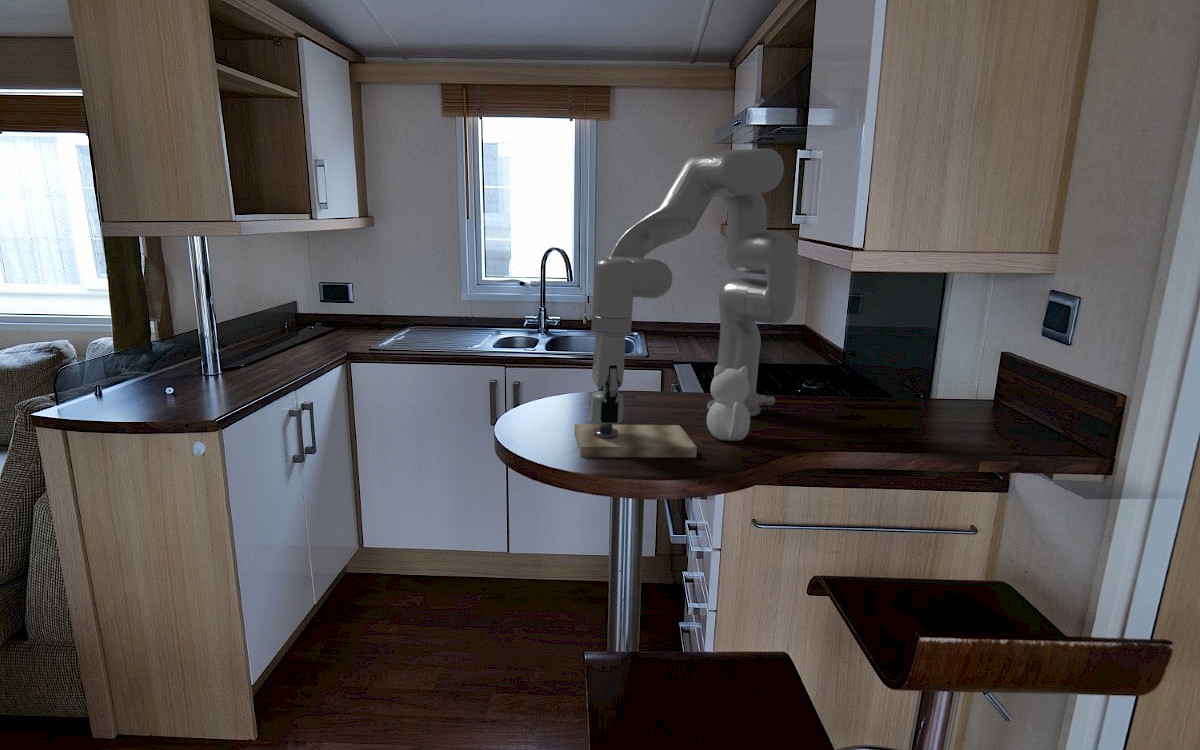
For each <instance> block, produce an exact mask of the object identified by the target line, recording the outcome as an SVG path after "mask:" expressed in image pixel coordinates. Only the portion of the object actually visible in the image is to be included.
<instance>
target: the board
mask: <svg viewBox="0 0 1200 750" xmlns="http://www.w3.org/2000/svg"><path fill="white" fill-rule="evenodd" d="M596 428H600V423H598V424H594V423H593V424H592V423H591V424H590V423H588V424H587V423H586V424H585V423H574V438H575V440H576V445H577V449H578V452H579V456H580V458H697V453H698V452H697V451H698V447H697V445H696V444H695V443H694V442H693V440H692V439H691V438H690V437H689V435H688V434H687V432H686V431H685V430H684V428H682V426H681V425H679V424H612V428H613V429H616V430H617V431H618V437H616V438H613V439H602V438H598V437H595V436H594V435H593V434H594V429H596Z"/></svg>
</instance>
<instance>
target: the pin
mask: <svg viewBox="0 0 1200 750" xmlns="http://www.w3.org/2000/svg"><path fill="white" fill-rule="evenodd" d="M599 424H600V428H596V429H594V434H593V435H594V436H595V437H598V438H602V439H613V438H616V437H618V431H617V430H616V429H613V428H612V425H613V424H601V423H599Z"/></svg>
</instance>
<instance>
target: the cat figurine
mask: <svg viewBox="0 0 1200 750" xmlns="http://www.w3.org/2000/svg"><path fill="white" fill-rule="evenodd" d="M713 375H714V377H713V378H712V380H711V383H710V389H709V390H710V394H711V396H712V398H713V400H714V399H715V400H716V401H717V402H715V403H714V404H713V405H712V406H711V408H710V409H708V412H707V415H706V425H707V428H708V430H709V432H710V434H711V435H712V436H713V437H715V438H716V439H717V440H719V441H730V442H731V441H739V442H740V441H742V440H744V439H745V438H746V437H747V436H748V434H749V430H750V426H751V425H750V424H751V417H750V415H749V411H748V409H747V408H746V406H745V405H744V404H743V403H742V402H743V401H744V400H745V399H746V398H747V397H748V395H749V392H750V385H749V381H748V379H747V376H748V370H747V367H746V366H743V367H741V368H740V369H739V370H736V369H732V368H729V369H724V368H723V367H721V366H719V365H717V364H716V365H715V366H714V369H713Z"/></svg>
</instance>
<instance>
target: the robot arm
mask: <svg viewBox="0 0 1200 750" xmlns="http://www.w3.org/2000/svg"><path fill="white" fill-rule="evenodd" d="M784 168H785V167H784V160H783V158H782V156H781V155H780V154H779V153H778V152H777V151H776V150H774V149H773V148H753V149H750V148H749V149H730V150H729V149H727V150H722V151H717V152H715V151H714V152H710V151H709V152H700V153H699V152H698V153H695V154H693V155H691V156H689V157H688V158H687V159H686V160H685V162H683V164H682V166H681V167H680V170H679V171H678V173H677V175H676V176H675V178H674V179H673V182H672V183H671V184H670V185H669V189H667V191H666V194H665V195H664V197H663V198H662V200H661V202H660V203H659V205H658V206H657V208H656V209H655V210H653V211H651V212H650V213H649V214H647V215H646V216H645V217H643V218H642V219H640V220H639V221H638V222H637V223H635V224H634V225H633V226H631V227H630V228H629V229H628V230H626V232H625V233H624V234H623V235H622V236H621V237H620V238H619V240H618V241H617V242H616V244H615V246H614V248H613V249H612V251H611V252H610V254H609V256H608V258H601V259H598V260H596V262H595V264H594V269H593V285H592V286H593V287H592V288H593V289H592V309H591V311H592V312H591V329H590V330H591V334H594V335H595V339H594V347H593V360H592V371H591V376H592V377H591V378H592V380H593V382H594V384H595V386H596V387H597V391H603V402H601V422H602V423H616V424H618V423H617V422H618V406H619V402H618V392H619V389H620V388H621V387H622V386H623V383H624V374H625V373H624V372H625V352H626V337H627V336H628V337H629V336H630V335H631V334H632V323H633V322H632V319H633V318H632V317H633V307H634V306H633V305H634V298H640V299H641V298H642V299H649V300H650V299H651V300H652V299H653V300H654V299H659V298H660V297H661V298H662V297H663V296H664V295H666V294H667V292H669V290H670V289H671V287H672V283H673V274H672V273H673V272H672V270H671V269H670V267H669V265H668V264H666V263H665V262H663V261H662V260H658V259H655V258H645V256H646V255H648V254H649V253H650V252H652V251H654V250H655V249H657V248H659V247H661V246H664V245H665V244H669V243H671V242H674V241H677V240H679V239H682V238H684V237H687V236H688V235H691V233H693V232H694V231H695V229H696V227H697V226H698V224H699V221H700V220H701V218H702V217H703V214H704V213H705V211H706V209H707V207H708V206H709V205H710V203H711V201H712V200H713V198H716V197H721V198H722V199H723V201H724V204H725V206H726V207H725V208H726V212H727V233H726V234H727V237H726V259H727V263H728V266H729V268H730V269H732V270H733V271H736V272H740V273H747V274H753V275H754V274H755V275H766V279H760V278H759V279H758V278H750V277H734V278H731V279H729V280H727V281H726V282H724V283H723V285H722V286H721V288H720V289H719V294H718V307H719V316H720V318H719V319H720V321H719V322H720V328H719V329H720V330H719V331H720V332H719V342H718V343H719V344H718V352H717V353H718V355H717V363H716V365H719V366H721V367H723V368H724V369H729V368H732V369H736V370H739V369H740V368H741V367H743V366H746V367H747V370H748V376H747V379H748V381H749V385H750V392H749V395H748V397H747V398H746V399H745V400H744V401H743V402H742V403H743V404H744V405H745V406H746V408H747V409H748V411H749V415H750V418H751V417H756V416H758V415H759V414H761V410H762V408H761V406H763V405H767V406H768V405H769V406H770V405H771V406H773V405H775V403H776V399H775V397H774V396H766V395H764V394H763V395H762V394H759V393H758V392H756V391H757V383H758V382H757V381H758V373H759V362H760V353H761V345H762V342H761V339H762V337H761V334H760V330H759V327H758V326H757V323H762V324H769V325H782V324H785V323H787V322H788V321H789V320H790V319H791V318H792V315H793V313H794V310H795V304H796V298H797V297H796V295H797V294H796V293H797V281H798V280H797V278H798V266H799V265H798V263H799V261H798V259H799V254H798V247H797V246H798V245H797V243H796V241H795V239H794V238H793V236H792V235H791V234H789V233H787V232H784V231H777V230H776V231H773V230H768V229H767V205H766V201H765V199H764V197H763V195H762V193H767V192H770V191H772V190H774V189H775V188H776V187H778V185H779V184H780V183H781V180H782V178H783V176H784V171H785V170H784ZM756 322H757V323H756ZM607 391H608V392H607ZM715 402H717V401H716V400H715V399H714V398H713V399H712V400H710V401H708V402H707V405H706V407H707V409H708V410H709V409H710V408H711V406H712V405H713V404H714V403H715Z"/></svg>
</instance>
